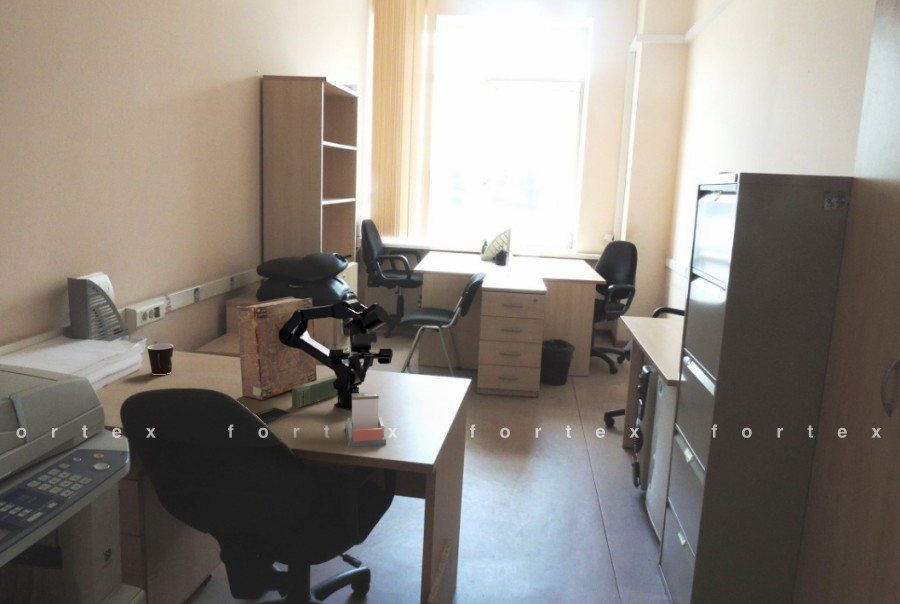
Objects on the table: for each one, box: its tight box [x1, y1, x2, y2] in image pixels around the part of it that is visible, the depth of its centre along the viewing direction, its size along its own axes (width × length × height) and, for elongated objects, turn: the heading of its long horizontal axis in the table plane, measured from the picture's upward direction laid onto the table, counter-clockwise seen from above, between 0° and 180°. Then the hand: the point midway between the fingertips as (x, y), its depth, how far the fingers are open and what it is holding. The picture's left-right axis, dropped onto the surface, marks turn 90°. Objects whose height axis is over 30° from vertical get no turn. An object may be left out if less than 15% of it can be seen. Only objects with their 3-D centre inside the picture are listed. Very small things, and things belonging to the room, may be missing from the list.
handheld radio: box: [291, 374, 338, 409], centre depth 209 cm, size 7×3×25 cm
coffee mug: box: [146, 343, 174, 374], centre depth 229 cm, size 12×9×10 cm
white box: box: [351, 392, 380, 430], centre depth 178 cm, size 3×7×10 cm, turn 103°
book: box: [236, 296, 318, 401], centre depth 215 cm, size 25×9×30 cm, turn 149°
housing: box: [344, 415, 387, 448], centre depth 178 cm, size 14×10×4 cm
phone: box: [255, 407, 291, 425], centre depth 189 cm, size 8×1×15 cm
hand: (362, 381), depth 187 cm, fingers closed
